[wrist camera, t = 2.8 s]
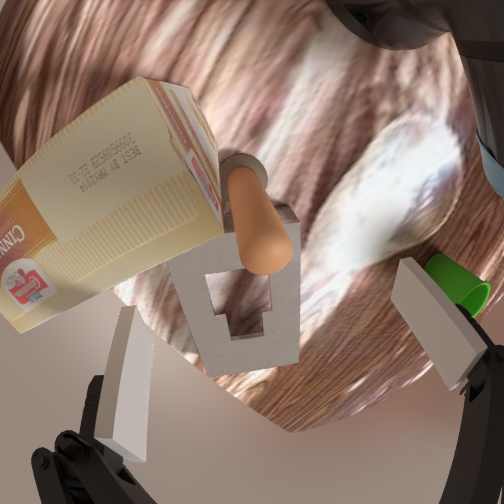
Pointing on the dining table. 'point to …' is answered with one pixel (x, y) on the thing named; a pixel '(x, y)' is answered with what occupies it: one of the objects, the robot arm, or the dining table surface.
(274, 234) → the headed peg
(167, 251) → the coffeecake box
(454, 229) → the dining table surface
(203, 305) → the keyhole plate
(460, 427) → the robot arm
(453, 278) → the cup
